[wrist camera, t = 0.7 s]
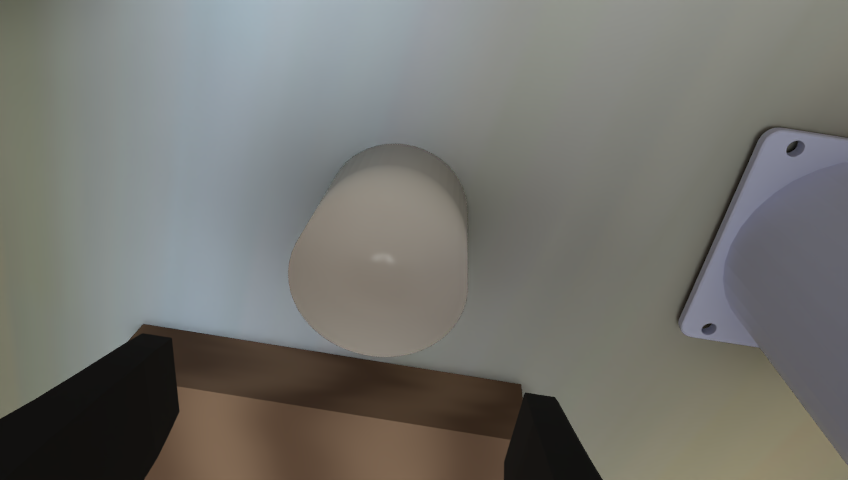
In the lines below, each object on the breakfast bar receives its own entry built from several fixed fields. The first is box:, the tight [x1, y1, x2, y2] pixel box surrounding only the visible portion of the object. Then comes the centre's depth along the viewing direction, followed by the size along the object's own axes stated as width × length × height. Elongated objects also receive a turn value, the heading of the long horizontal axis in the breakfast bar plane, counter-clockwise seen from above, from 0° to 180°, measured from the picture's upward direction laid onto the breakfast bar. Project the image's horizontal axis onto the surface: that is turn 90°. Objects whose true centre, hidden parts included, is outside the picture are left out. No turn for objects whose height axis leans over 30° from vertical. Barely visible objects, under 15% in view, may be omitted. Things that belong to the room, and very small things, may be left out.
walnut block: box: [129, 324, 523, 480], centre depth 24 cm, size 16×12×4 cm
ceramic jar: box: [288, 144, 468, 357], centre depth 17 cm, size 5×5×5 cm
